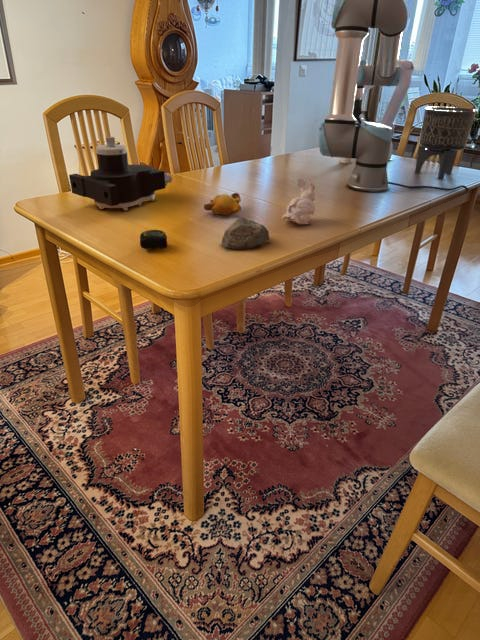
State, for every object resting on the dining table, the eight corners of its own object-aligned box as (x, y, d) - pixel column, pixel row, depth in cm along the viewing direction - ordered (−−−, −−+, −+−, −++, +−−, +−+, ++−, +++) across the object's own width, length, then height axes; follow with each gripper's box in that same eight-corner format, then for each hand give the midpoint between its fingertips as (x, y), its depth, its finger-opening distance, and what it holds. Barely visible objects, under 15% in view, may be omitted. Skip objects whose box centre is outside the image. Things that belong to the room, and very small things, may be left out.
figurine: (321, 218, 142) (325, 177, 135) (298, 231, 131) (302, 187, 125) (298, 213, 146) (301, 173, 139) (274, 225, 135) (277, 182, 128)
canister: (339, 162, 219) (341, 152, 217) (341, 161, 223) (343, 150, 221) (349, 163, 218) (351, 153, 215) (351, 161, 222) (353, 151, 219)
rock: (255, 233, 128) (256, 211, 124) (276, 242, 122) (278, 219, 119) (217, 244, 120) (217, 220, 117) (239, 254, 115) (239, 230, 111)
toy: (200, 206, 138) (209, 192, 151) (208, 225, 141) (216, 210, 154) (234, 195, 135) (241, 182, 148) (241, 215, 138) (247, 200, 151)
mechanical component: (62, 136, 139) (140, 127, 159) (73, 204, 150) (145, 188, 170) (104, 145, 127) (182, 134, 147) (113, 218, 138) (185, 199, 158)
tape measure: (140, 252, 115) (139, 238, 113) (141, 242, 120) (140, 229, 119) (167, 251, 116) (166, 237, 114) (167, 241, 121) (166, 228, 120)
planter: (406, 175, 197) (419, 108, 184) (419, 168, 211) (432, 105, 198) (453, 182, 187) (471, 112, 174) (463, 174, 201) (480, 109, 188)
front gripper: (379, 98, 209) (372, 146, 220) (325, 97, 210) (320, 145, 221) (383, 99, 203) (375, 149, 214) (327, 98, 203) (322, 148, 214)
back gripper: (341, 107, 234) (338, 135, 241) (359, 110, 223) (355, 139, 230) (352, 106, 237) (349, 134, 244) (370, 109, 226) (366, 138, 232)
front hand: (347, 147), depth 217 cm, fingers open, 13 cm apart
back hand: (352, 136), depth 237 cm, fingers open, 7 cm apart
